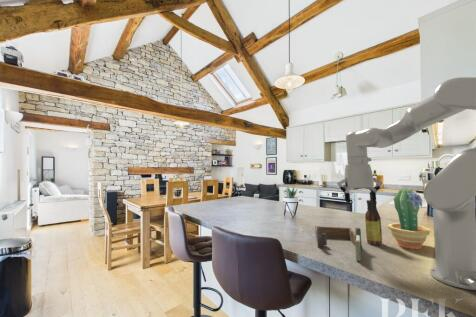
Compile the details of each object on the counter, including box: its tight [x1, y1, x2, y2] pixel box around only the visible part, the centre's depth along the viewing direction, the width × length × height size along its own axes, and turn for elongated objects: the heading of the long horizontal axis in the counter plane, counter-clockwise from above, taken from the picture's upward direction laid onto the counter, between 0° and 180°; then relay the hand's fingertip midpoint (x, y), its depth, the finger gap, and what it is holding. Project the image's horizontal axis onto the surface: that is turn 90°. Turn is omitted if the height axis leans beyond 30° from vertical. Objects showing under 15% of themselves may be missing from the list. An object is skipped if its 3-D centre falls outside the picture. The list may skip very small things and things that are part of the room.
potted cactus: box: [387, 188, 431, 250], centre depth 99 cm, size 15×15×25 cm
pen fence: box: [314, 225, 362, 251], centre depth 104 cm, size 18×18×9 cm
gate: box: [354, 235, 362, 261], centre depth 88 cm, size 12×2×7 cm, turn 150°
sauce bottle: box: [364, 199, 383, 246], centre depth 103 cm, size 6×6×20 cm
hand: (360, 202), depth 91 cm, fingers open, 9 cm apart
